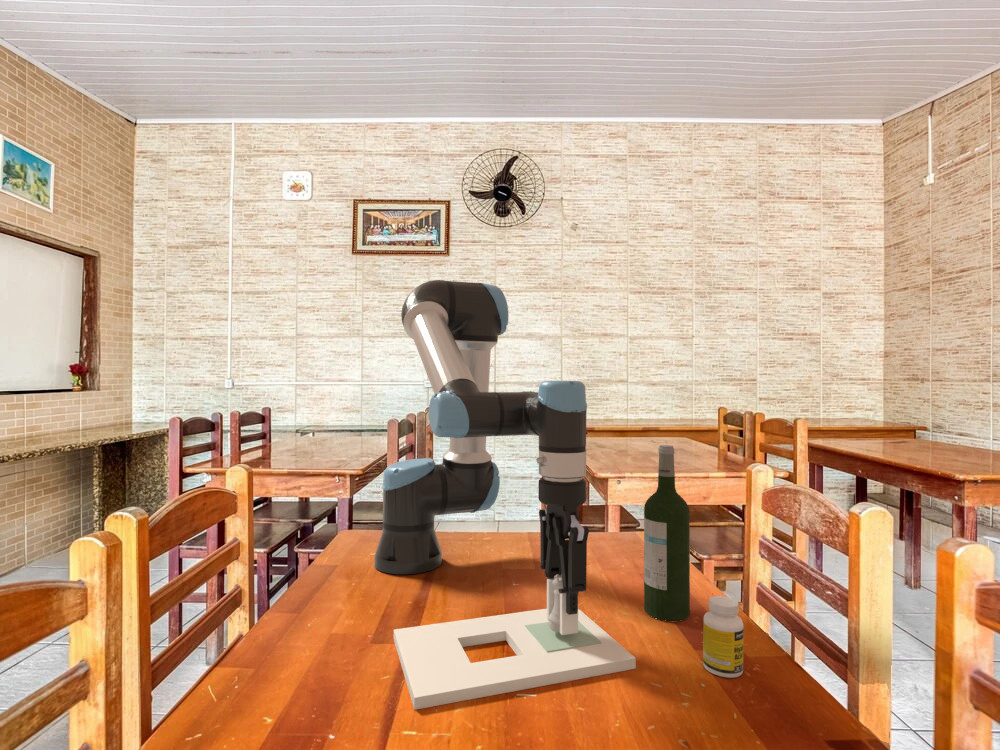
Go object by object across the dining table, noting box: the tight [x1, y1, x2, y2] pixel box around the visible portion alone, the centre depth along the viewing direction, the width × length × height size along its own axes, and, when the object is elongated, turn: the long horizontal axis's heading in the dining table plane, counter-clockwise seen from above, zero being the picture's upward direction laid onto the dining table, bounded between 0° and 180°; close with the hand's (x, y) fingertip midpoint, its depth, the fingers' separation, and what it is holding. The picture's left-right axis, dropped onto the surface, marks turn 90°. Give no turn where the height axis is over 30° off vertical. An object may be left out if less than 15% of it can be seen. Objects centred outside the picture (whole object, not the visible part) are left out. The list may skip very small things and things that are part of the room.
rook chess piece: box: [548, 574, 563, 633], centre depth 86 cm, size 4×4×8 cm
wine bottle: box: [643, 444, 691, 622], centre depth 98 cm, size 8×8×30 cm
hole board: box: [393, 608, 637, 711], centre depth 83 cm, size 20×32×2 cm, turn 108°
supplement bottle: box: [702, 595, 745, 679], centre depth 78 cm, size 5×5×10 cm
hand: (562, 625), depth 86 cm, fingers closed on rook chess piece, 4 cm apart
